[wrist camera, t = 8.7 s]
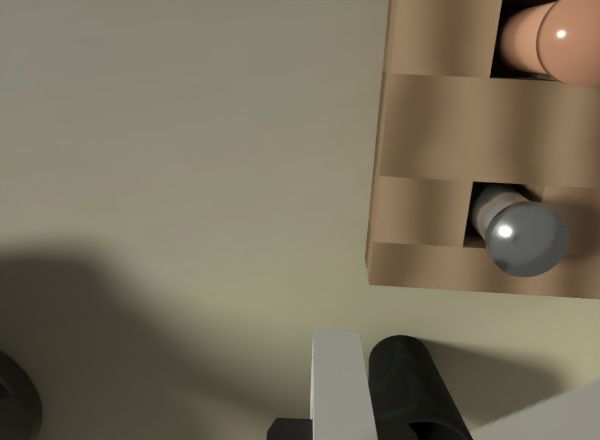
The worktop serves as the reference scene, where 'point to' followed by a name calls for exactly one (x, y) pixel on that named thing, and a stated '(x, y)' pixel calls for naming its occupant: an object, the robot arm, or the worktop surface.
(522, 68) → the terracotta plug
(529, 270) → the grey plug
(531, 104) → the block
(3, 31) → the worktop surface
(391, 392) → the cup
